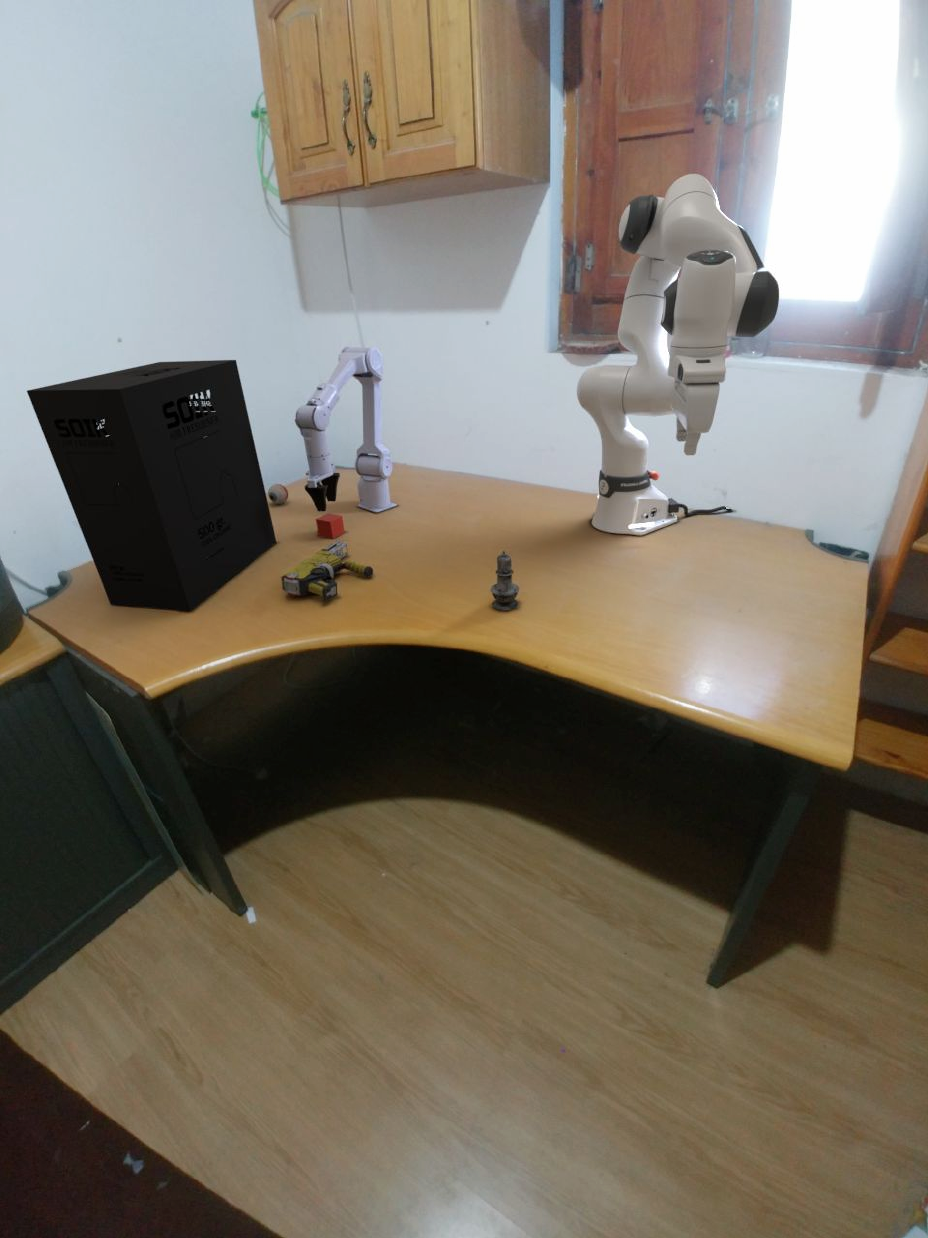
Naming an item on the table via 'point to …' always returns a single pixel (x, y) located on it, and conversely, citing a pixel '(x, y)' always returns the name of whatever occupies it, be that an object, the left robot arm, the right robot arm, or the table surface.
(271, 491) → the eyeball
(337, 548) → the toy gun
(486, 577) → the table surface
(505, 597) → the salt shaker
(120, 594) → the cardboard box
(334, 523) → the cube
